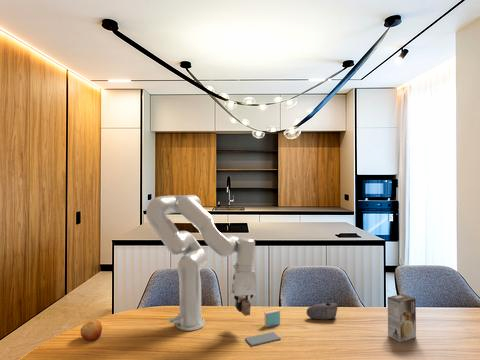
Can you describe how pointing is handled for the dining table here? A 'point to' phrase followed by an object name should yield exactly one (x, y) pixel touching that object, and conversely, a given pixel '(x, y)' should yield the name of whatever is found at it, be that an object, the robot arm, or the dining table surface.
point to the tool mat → (262, 338)
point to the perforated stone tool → (322, 311)
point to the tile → (271, 318)
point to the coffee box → (401, 317)
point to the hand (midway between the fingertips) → (242, 309)
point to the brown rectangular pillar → (244, 306)
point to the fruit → (91, 330)
